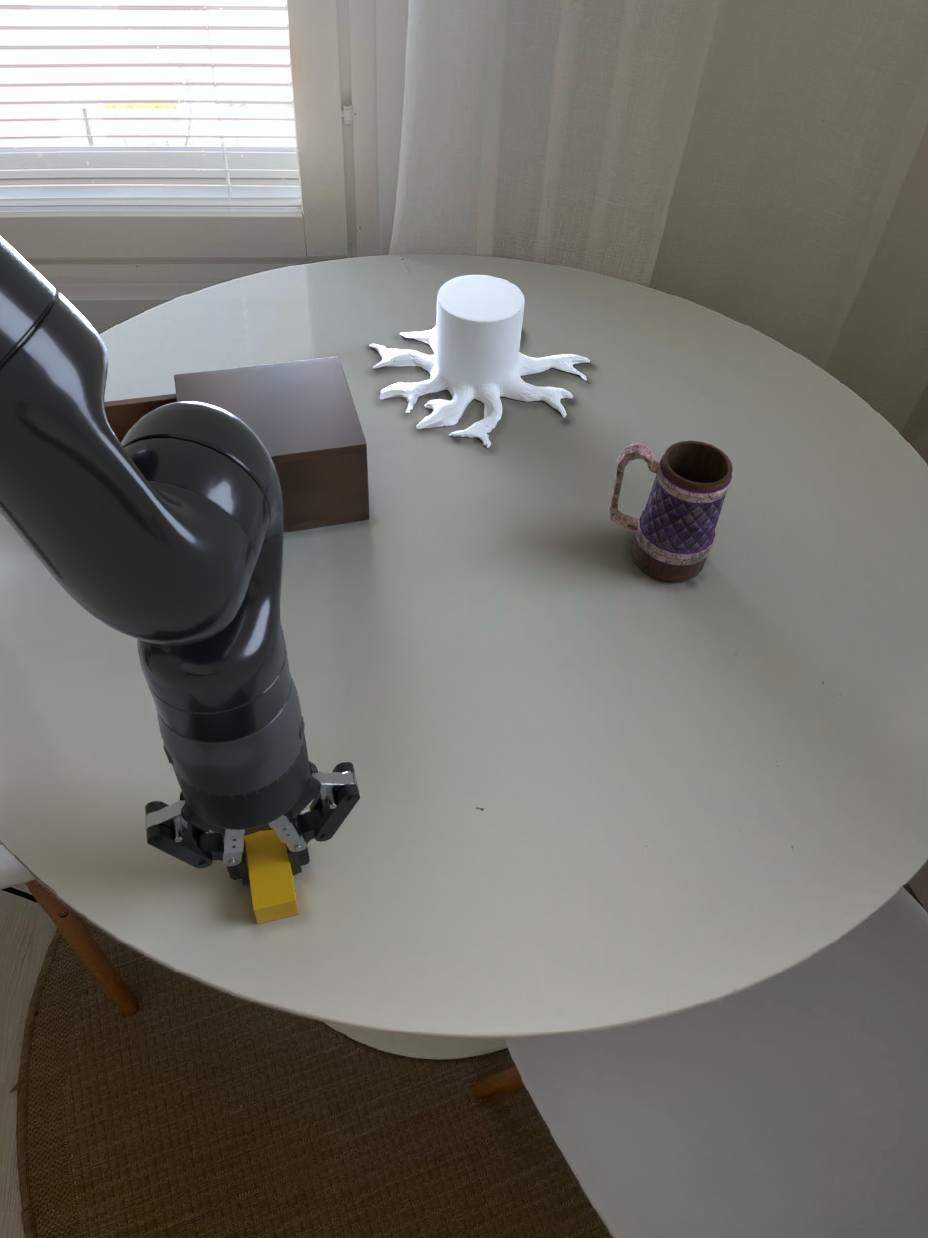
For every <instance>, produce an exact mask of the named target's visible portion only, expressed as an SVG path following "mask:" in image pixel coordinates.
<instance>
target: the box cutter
mask: <svg viewBox="0 0 928 1238" xmlns="http://www.w3.org/2000/svg"><path fill="white" fill-rule="evenodd" d="M244 839H245V843H246V851H247V858H248V866H249V871H248V873H249V880H250V884H249V888H250V896H251V902H252V909H253V914H254V916H255V920H256V923H257V924H258V925H259V924H264V923H267V922H268V923H269V922H272V921H276V920H280V919H284V918H290V917H293V916H298V915H299V914H300V910H299V905H298V898H297V893H296V886H295V880H294V874H292V870H291V865H290V862H289V859H288V854H287V849H286V844H285V843H283V844H282V843H281V841H280V839H279V838H278V836H277V835H276V833H275V831H274V830H266V831H258V832H255V833H253V834H250V835H246V836H244Z"/></svg>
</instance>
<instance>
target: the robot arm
mask: <svg viewBox="0 0 928 1238" xmlns="http://www.w3.org/2000/svg"><path fill="white" fill-rule="evenodd" d="M108 369H109V355H108V350H107V347H106V343H105V342H104V339H103V338H102V336H101V335H100V333H99V332H98V331H97V329H96V328H95V327H94V326H93V325H92V324H91V322H90V321H89V320H88V319H87V318H86V317H85V315H83V314H82V312H80V310H79V309H77V308H76V306H75V305H74V304H73V303H71V302H70V301H69V299H67V298H66V297H65V296H64V295H63V294H62V293H61V292H59V291H57V290H56V288H55V286H54V285H53V284H52V283H51V282H50V281H49V280H48V279H47V278H45V276H44V275H43V274H42V273H40V272H39V271H38V270H37V269H36V268H35V267H34V266H33V265H32V264H31V263H30V262H29V261H28V260H26V258H24V257H23V256H22V254H21V253H20V252H18V251H17V250H16V249H15V248H14V247H13V246H12V245H11V244H10V243H9V242H8V241H7V240H6V239H4V237H2V235H0V514H1V516H2V517H3V518H4V519H5V520H6V521H7V523H9V525H10V526H11V528H13V530H14V531H15V532H16V533H17V535H18V536H19V538H21V540H22V541H23V542H24V543H25V544H26V546H27V547H28V549H30V551H31V553H32V554H33V555H34V556H35V557H36V558H37V559H38V560H39V562H40V563H41V565H42V566H43V567H44V568H45V569H46V571H48V573H49V574H50V576H51V577H52V578H53V579H54V580H55V581H56V582H57V584H59V585H60V587H61V588H62V589H63V590H64V591H65V592H66V593H67V594H68V595H69V596H70V598H71V599H73V600H74V601H75V602H76V603H77V604H78V605H79V606H81V608H83V609H84V610H85V611H86V612H87V613H89V614H90V615H91V616H92V617H93V618H95V619H97V620H98V621H100V622H102V623H103V624H105V625H106V626H107V627H109V628H111V629H113V630H114V631H117V632H118V633H120V634H123V635H126V636H128V637H131V638H133V639H135V640H137V641H136V642H137V643H136V644H137V654H138V659H139V664H140V667H141V670H142V673H143V676H144V679H145V681H146V684H147V686H148V690H149V692H150V694H151V698H152V701H153V703H154V705H155V709H156V713H157V722H158V729H159V733H160V736H161V739H162V742H163V746H162V748H163V750H164V753H165V756H166V758H167V761H168V763H169V764H171V766H172V769H173V772H174V774H175V777H176V780H177V782H178V785H179V787H180V790H181V791H180V793H179V800H178V801H176V802H174V803H172V804H170V805H169V804H167V803H166V802H164V801H161V800H153V801H150V802H148V803H147V804H145V806H144V811H145V818H144V819H145V832H146V843H147V844H148V845H149V846H151V847H153V848H155V849H157V850H158V851H159V850H160V851H162V852H163V853H165V854H167V855H169V856H171V857H173V858H175V859H177V860H179V861H181V862H183V863H185V864H187V865H189V866H191V867H193V868H195V869H201V870H202V869H206V868H209V867H210V866H212V865H213V863H214V861H221V862H222V865H223V866H225V867H226V869H227V872H228V875H229V878H230V880H233V881H239V880H240V881H241V884H242V886H247V885H250V880H249V873H248V871H249V866H248V858H247V851H246V843H245V839H244V836H246V835H250V834H253V833H255V832H258V831H266V830H274V831H275V833H276V835H277V836H278V838H279V839H280V841H281V843H282V844H283V843H285V844H286V849H287V854H288V859H289V862H290V865H291V870H292V874H293V875H295V874H299V873H302V866H305V865H309V863H310V861H311V859H310V853H309V848H308V844H309V842H311V841H312V840H315V841H316V842H319V843H320V842H327V841H329V840H331V839H332V838H333V837H334V836H335V834H336V833H337V832H338V830H339V829H340V827H341V826H342V824H343V823H344V822H345V821H346V819H347V818H348V816H349V815H350V813H351V812H352V811H353V809H354V808H355V807H356V804H357V803H358V802H359V801H360V799H361V794H360V790H359V786H358V781H357V776H356V772H355V767H354V763H352V761H351V762H350V761H342V762H340V763H338V764H336V765H335V766H334V768H333V770H332V771H331V772H330V771H329V772H328V771H319V769H318V767H317V765H316V764H315V763H313V761H312V762H311V760H309V752H308V746H307V741H306V740H307V739H306V734H305V733H306V732H305V729H306V722H305V719H304V716H303V715H302V708H301V707H302V706H301V701H300V698H299V693H298V689H297V687H296V684H295V682H294V679H293V678H292V674H291V670H290V664H289V657H288V652H287V644H286V639H285V633H284V630H283V627H282V621H281V620H282V619H281V597H282V596H281V594H282V580H283V565H284V564H283V562H284V532H283V525H284V524H283V499H282V490H281V485H280V480H279V476H278V473H277V470H276V467H275V464H274V462H273V460H272V458H271V456H270V454H269V452H268V450H267V449H266V447H265V446H264V444H263V443H262V441H261V440H260V439H259V437H258V436H257V435H256V434H255V433H254V432H253V430H252V429H251V428H250V427H249V426H247V425H246V424H245V423H244V422H243V421H242V420H240V419H239V418H238V417H236V416H235V415H233V414H231V413H230V412H228V411H226V410H224V409H222V408H219V407H217V406H214V405H211V404H207V403H202V402H195V401H182V402H174V403H169V404H166V405H163V406H161V407H159V408H156V409H155V410H153V411H151V412H149V413H147V414H146V415H145V416H143V417H142V418H141V419H140V420H139V421H138V422H136V424H135V425H134V426H133V427H132V428H131V429H130V430H129V431H128V433H127V434H126V436H125V437H124V439H123V440H122V442H121V443H120V441H119V440H118V438H117V437H116V435H115V434H114V432H113V430H112V429H111V427H110V425H109V423H108V421H107V417H106V413H105V409H104V402H105V396H106V387H107V379H108V371H109V370H108ZM308 806H309V811H307V812H304V813H302V812H303V811H304V810H305V809H306V808H307V807H308ZM210 831H211V832H210Z"/></svg>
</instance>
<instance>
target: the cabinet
mask: <svg viewBox="0 0 928 1238" xmlns="http://www.w3.org/2000/svg"><path fill="white" fill-rule="evenodd" d="M173 378H174V388H175V394H176V398H177V402H182V401H195V402H202V403H207V404H211V405H214V406H217V407H219V408H222V409H224V410H226V411H228V412H230V413H231V414H233V415H235V416H236V417H238V418H239V419H240V420H242V421H243V422H244V423H245V424H246V425H247V426H249V427H250V428H251V429H252V430H253V432H254V433H255V434H256V435H257V436H258V437H259V439H260V440H261V441H262V443H263V444H264V446H265V447H266V449H267V450H268V452H269V454H270V456H271V458H272V460H273V462H274V464H275V467H276V470H277V473H278V476H279V480H280V485H281V490H282V499H283V524H284V525H283V533H287V532H288V533H289V532H294V531H300V530H308V529H314V528H322V527H328V526H333V525H339V524H340V525H341V524H347V523H355V522H361V521H366V520H367V521H368V520H370V517H371V516H370V494H369V493H370V491H369V467H368V445H367V444H368V443H367V440H366V438H365V435H364V432H363V431H364V430H363V428H362V425H361V422H360V419H359V415H358V412H357V408H356V406H355V403H354V399H353V397H352V393H351V389H350V387H349V384H348V380H347V377H346V374H345V371H344V368H343V363H342V362H341V358H340V356H337V355H336V356H329V357H320V358H312V359H303V360H293V361H284V362H275V363H266V364H259V365H257V364H256V365H249V366H240V367H230V368H222V369H214V370H204V371H195V372H186V373H177V374H173Z"/></svg>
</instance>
